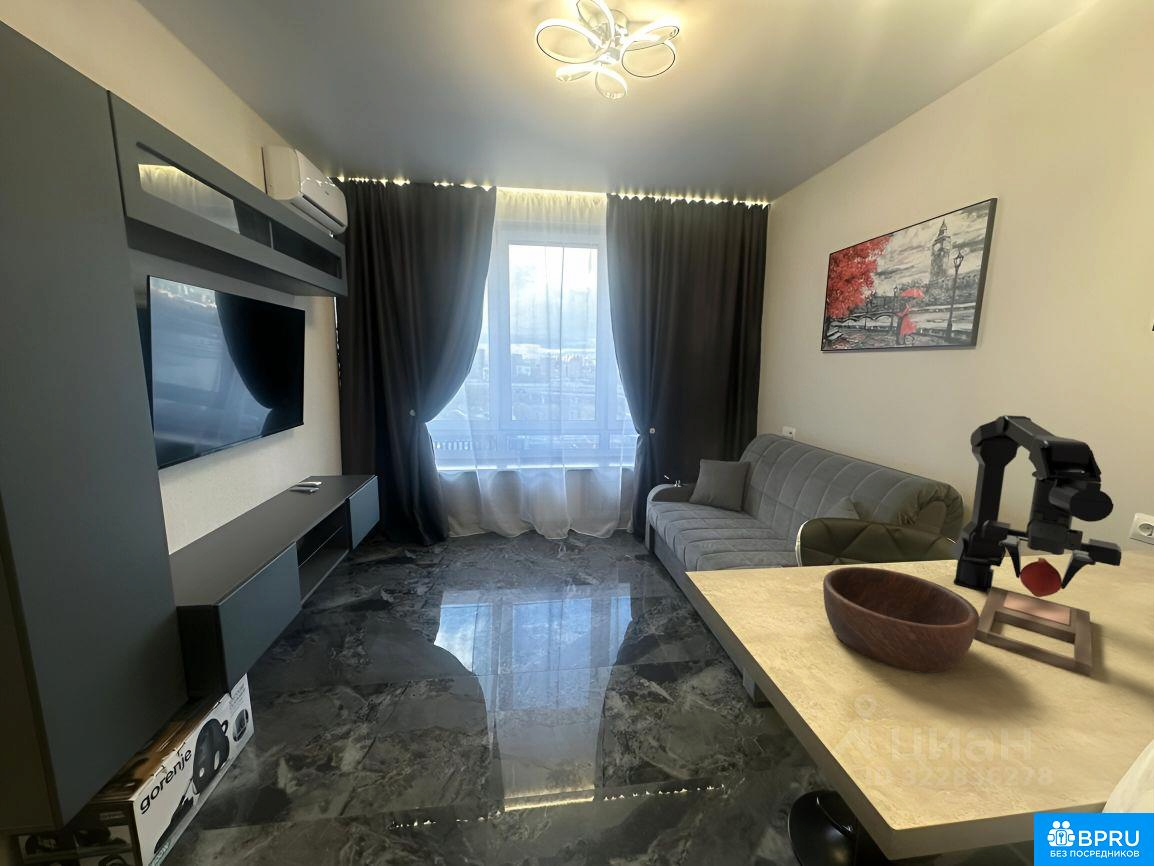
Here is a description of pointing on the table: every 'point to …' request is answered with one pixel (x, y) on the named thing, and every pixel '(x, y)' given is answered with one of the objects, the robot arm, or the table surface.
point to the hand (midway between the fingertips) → (1039, 582)
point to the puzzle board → (1038, 627)
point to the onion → (1041, 578)
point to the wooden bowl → (899, 618)
